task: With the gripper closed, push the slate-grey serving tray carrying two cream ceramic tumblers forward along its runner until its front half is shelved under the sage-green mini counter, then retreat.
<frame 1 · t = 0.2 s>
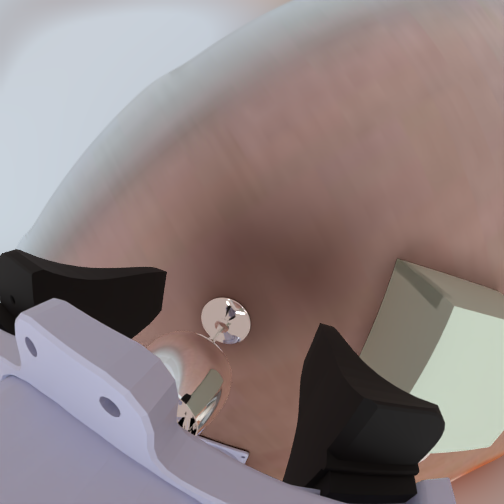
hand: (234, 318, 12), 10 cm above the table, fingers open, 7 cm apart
tray: (369, 460, 20), point 3 cm above the table, slide at 0.0 cm
wineglass: (226, 320, 23), on the table
counter: (433, 330, 19), on the table
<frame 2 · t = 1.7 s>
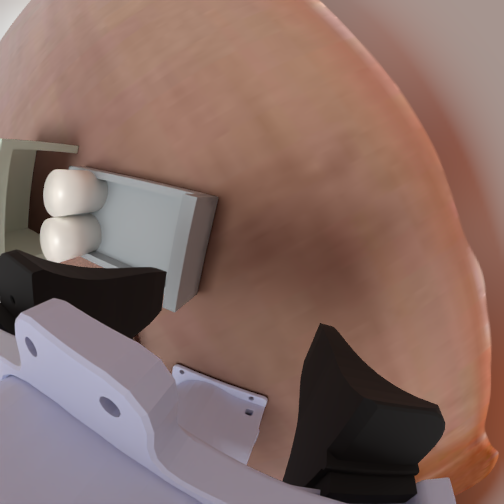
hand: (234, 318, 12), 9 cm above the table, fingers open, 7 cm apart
tray: (110, 226, 20), point 3 cm above the table, slide at 0.0 cm
counter: (46, 193, 25), on the table
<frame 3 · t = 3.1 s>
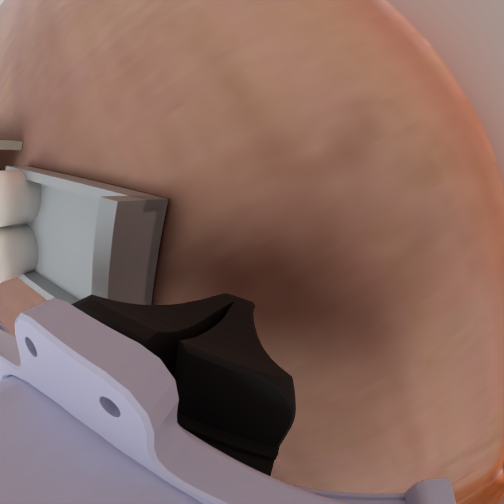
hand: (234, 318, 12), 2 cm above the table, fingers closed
tray: (35, 243, 12), point 3 cm above the table, slide at 0.0 cm
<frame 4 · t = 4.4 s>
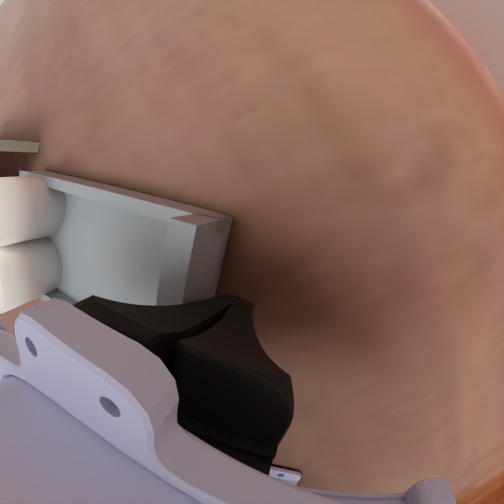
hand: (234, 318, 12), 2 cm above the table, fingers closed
tray: (65, 263, 12), point 3 cm above the table, slide at 0.4 cm, touching gripper
counter: (7, 207, 17), on the table
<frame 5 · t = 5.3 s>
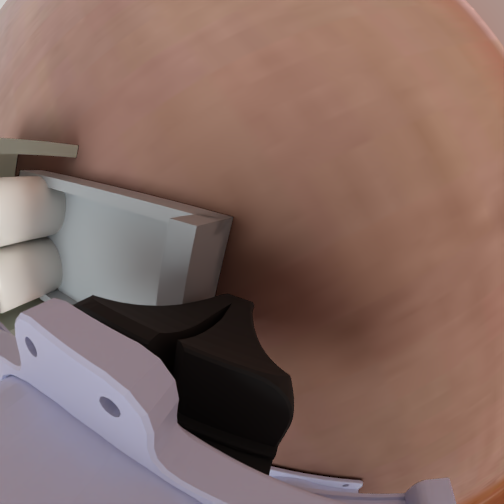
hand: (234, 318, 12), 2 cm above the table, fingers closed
tray: (65, 263, 12), point 3 cm above the table, slide at 5.7 cm, touching gripper
counter: (31, 219, 16), on the table
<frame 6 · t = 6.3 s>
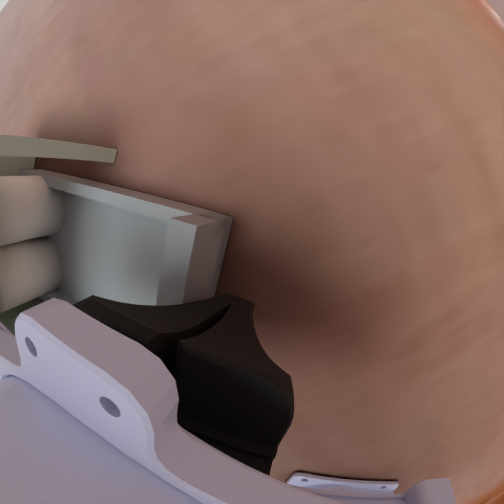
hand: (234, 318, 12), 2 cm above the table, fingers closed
tray: (65, 263, 12), point 3 cm above the table, slide at 9.4 cm, touching gripper
counter: (55, 230, 15), on the table
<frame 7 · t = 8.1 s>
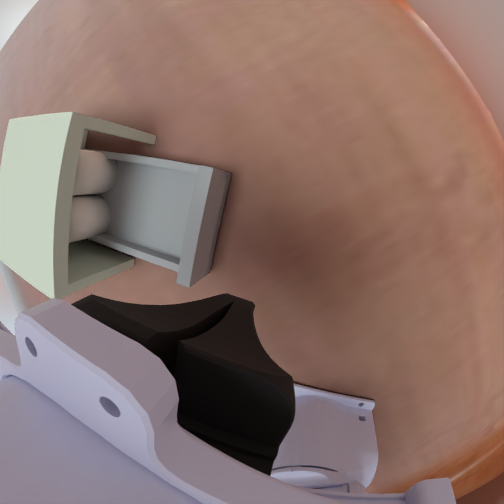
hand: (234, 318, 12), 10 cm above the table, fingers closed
tray: (121, 204, 19), point 3 cm above the table, slide at 9.4 cm
counter: (103, 193, 23), on the table
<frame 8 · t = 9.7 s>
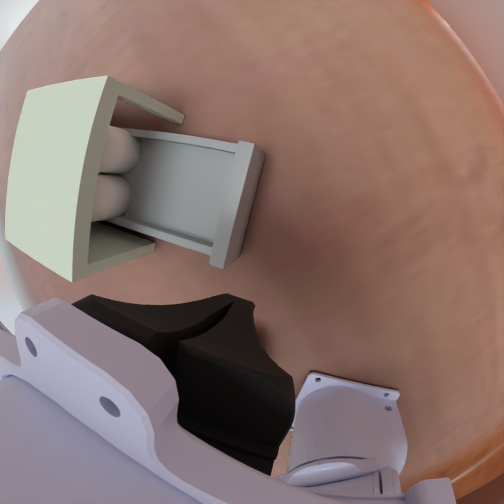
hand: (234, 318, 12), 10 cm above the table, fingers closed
tray: (147, 182, 19), point 3 cm above the table, slide at 9.4 cm
counter: (123, 174, 23), on the table
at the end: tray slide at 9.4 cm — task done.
